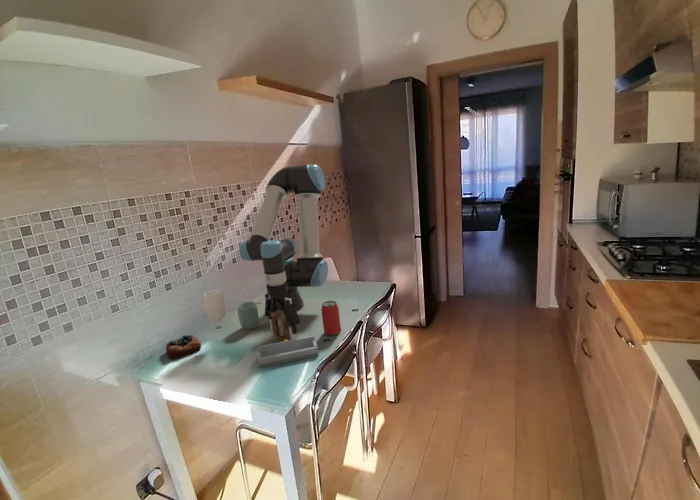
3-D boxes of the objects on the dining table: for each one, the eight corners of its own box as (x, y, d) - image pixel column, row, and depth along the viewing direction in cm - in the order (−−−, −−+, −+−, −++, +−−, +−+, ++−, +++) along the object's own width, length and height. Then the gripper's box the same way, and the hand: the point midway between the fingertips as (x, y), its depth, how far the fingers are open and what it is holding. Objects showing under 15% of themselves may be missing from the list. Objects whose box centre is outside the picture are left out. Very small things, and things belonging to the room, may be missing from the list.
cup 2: (263, 324, 157) (260, 302, 155) (251, 332, 151) (247, 309, 148) (249, 322, 161) (245, 301, 158) (236, 330, 154) (232, 308, 152)
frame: (275, 339, 143) (270, 312, 140) (282, 335, 145) (278, 309, 143) (288, 344, 138) (284, 316, 135) (295, 340, 140) (291, 313, 138)
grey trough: (259, 368, 123) (257, 355, 122) (259, 357, 130) (257, 345, 129) (318, 355, 127) (317, 342, 126) (315, 346, 134) (313, 334, 133)
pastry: (164, 351, 142) (161, 337, 141) (197, 340, 149) (194, 327, 147) (170, 362, 133) (167, 348, 132) (204, 350, 140) (201, 336, 139)
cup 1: (221, 337, 149) (211, 289, 144) (236, 339, 146) (226, 289, 141) (208, 346, 142) (198, 295, 137) (223, 348, 140) (213, 296, 135)
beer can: (328, 338, 139) (324, 308, 137) (321, 331, 145) (318, 303, 142) (344, 332, 142) (340, 303, 139) (336, 326, 148) (333, 298, 145)
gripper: (249, 281, 141) (258, 334, 146) (288, 291, 126) (297, 349, 131) (265, 275, 146) (273, 326, 152) (305, 284, 131) (312, 340, 136)
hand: (284, 337), depth 141 cm, fingers open, 11 cm apart
